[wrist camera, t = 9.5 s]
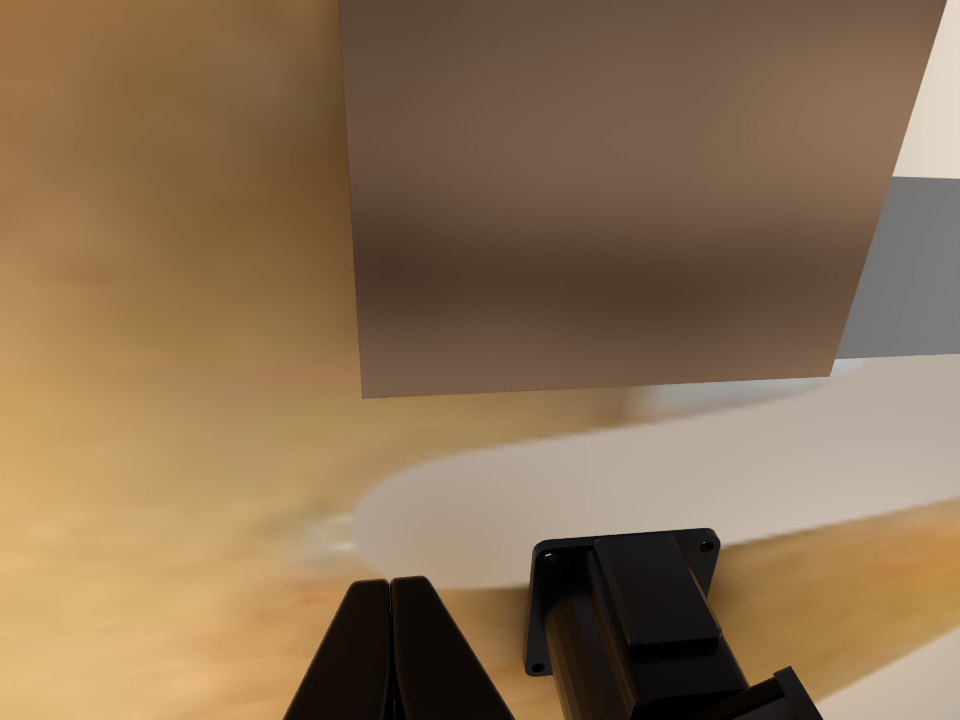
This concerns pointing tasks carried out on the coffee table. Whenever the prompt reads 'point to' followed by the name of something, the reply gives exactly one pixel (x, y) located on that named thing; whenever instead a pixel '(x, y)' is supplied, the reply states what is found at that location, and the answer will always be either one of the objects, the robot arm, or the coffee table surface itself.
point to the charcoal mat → (910, 275)
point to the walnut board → (617, 185)
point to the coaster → (936, 109)
